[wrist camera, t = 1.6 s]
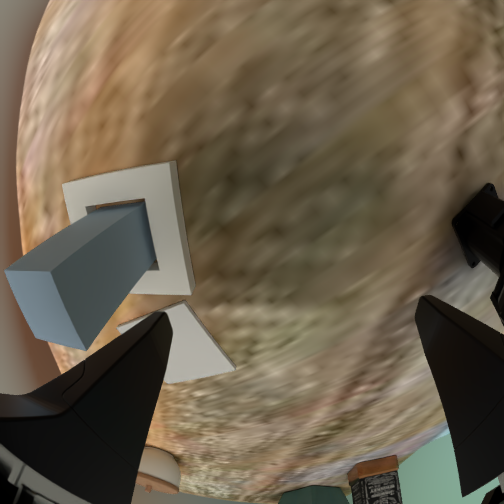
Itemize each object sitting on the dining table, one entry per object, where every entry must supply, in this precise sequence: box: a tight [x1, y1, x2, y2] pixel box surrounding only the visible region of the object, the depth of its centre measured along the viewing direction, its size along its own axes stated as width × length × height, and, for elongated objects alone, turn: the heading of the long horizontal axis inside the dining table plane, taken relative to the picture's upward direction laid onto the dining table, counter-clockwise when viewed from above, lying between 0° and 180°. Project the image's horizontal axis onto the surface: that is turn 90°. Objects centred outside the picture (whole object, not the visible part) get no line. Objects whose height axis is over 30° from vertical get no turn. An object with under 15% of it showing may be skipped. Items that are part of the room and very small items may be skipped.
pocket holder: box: [62, 161, 196, 295], centre depth 21 cm, size 11×11×2 cm
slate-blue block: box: [4, 202, 157, 351], centre depth 17 cm, size 5×5×12 cm
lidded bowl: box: [136, 447, 181, 494], centre depth 40 cm, size 13×13×11 cm
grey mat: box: [117, 300, 236, 384], centre depth 27 cm, size 10×10×1 cm
